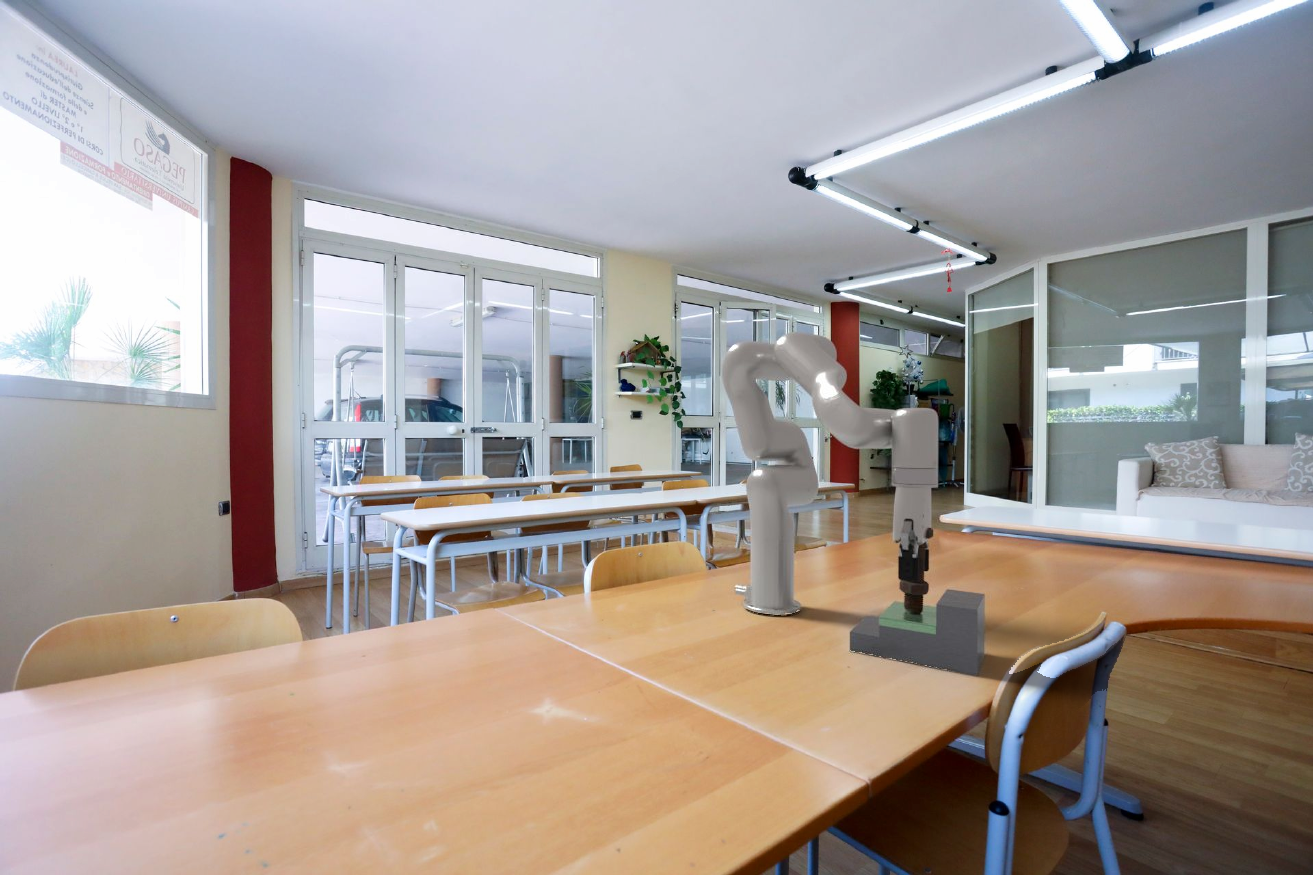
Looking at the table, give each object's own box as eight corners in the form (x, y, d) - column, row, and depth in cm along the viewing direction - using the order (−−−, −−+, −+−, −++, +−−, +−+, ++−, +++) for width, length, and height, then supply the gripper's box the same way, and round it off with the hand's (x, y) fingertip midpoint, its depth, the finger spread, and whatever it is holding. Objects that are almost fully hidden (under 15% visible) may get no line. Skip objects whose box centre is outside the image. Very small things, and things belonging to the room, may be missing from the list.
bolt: (925, 608, 109) (928, 525, 109) (935, 617, 104) (938, 530, 104) (892, 606, 110) (895, 524, 110) (900, 614, 105) (903, 528, 105)
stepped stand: (849, 651, 107) (849, 592, 107) (867, 633, 117) (867, 578, 117) (977, 676, 96) (977, 610, 96) (984, 653, 106) (984, 593, 106)
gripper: (902, 475, 116) (901, 564, 116) (880, 479, 102) (880, 581, 102) (945, 476, 112) (944, 569, 112) (929, 481, 98) (928, 588, 98)
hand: (914, 575), depth 107 cm, fingers open, 9 cm apart
